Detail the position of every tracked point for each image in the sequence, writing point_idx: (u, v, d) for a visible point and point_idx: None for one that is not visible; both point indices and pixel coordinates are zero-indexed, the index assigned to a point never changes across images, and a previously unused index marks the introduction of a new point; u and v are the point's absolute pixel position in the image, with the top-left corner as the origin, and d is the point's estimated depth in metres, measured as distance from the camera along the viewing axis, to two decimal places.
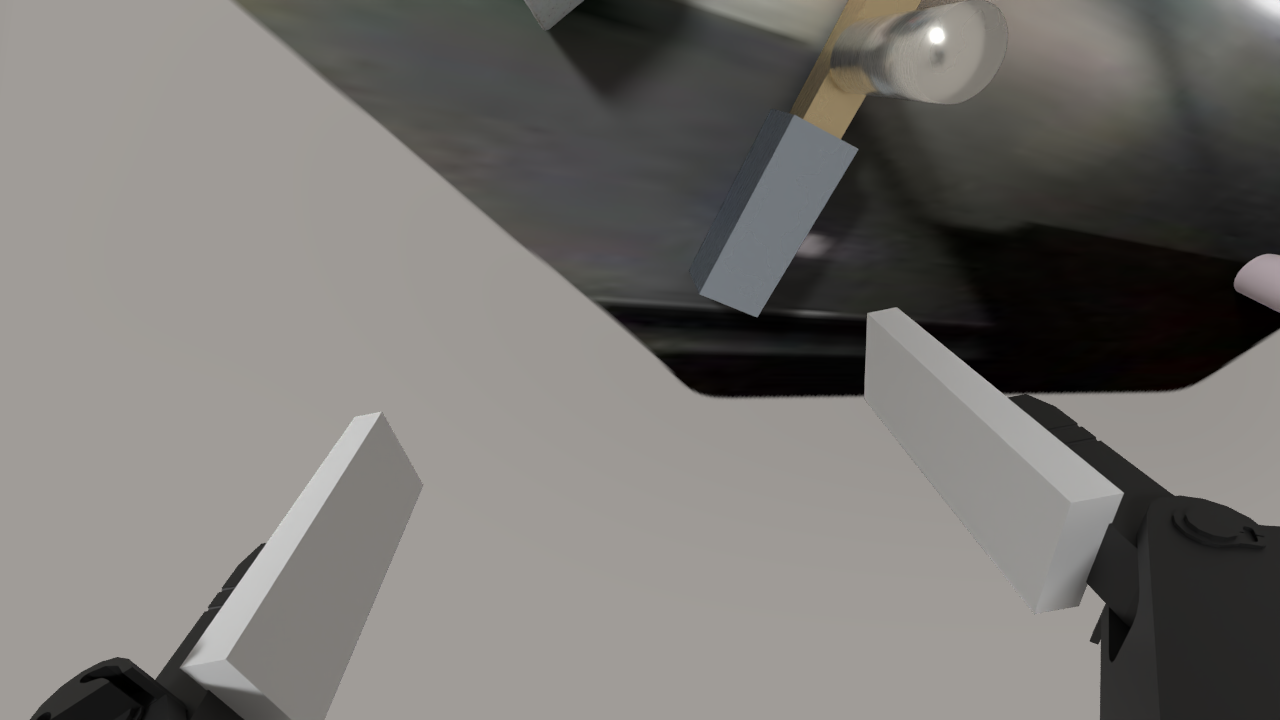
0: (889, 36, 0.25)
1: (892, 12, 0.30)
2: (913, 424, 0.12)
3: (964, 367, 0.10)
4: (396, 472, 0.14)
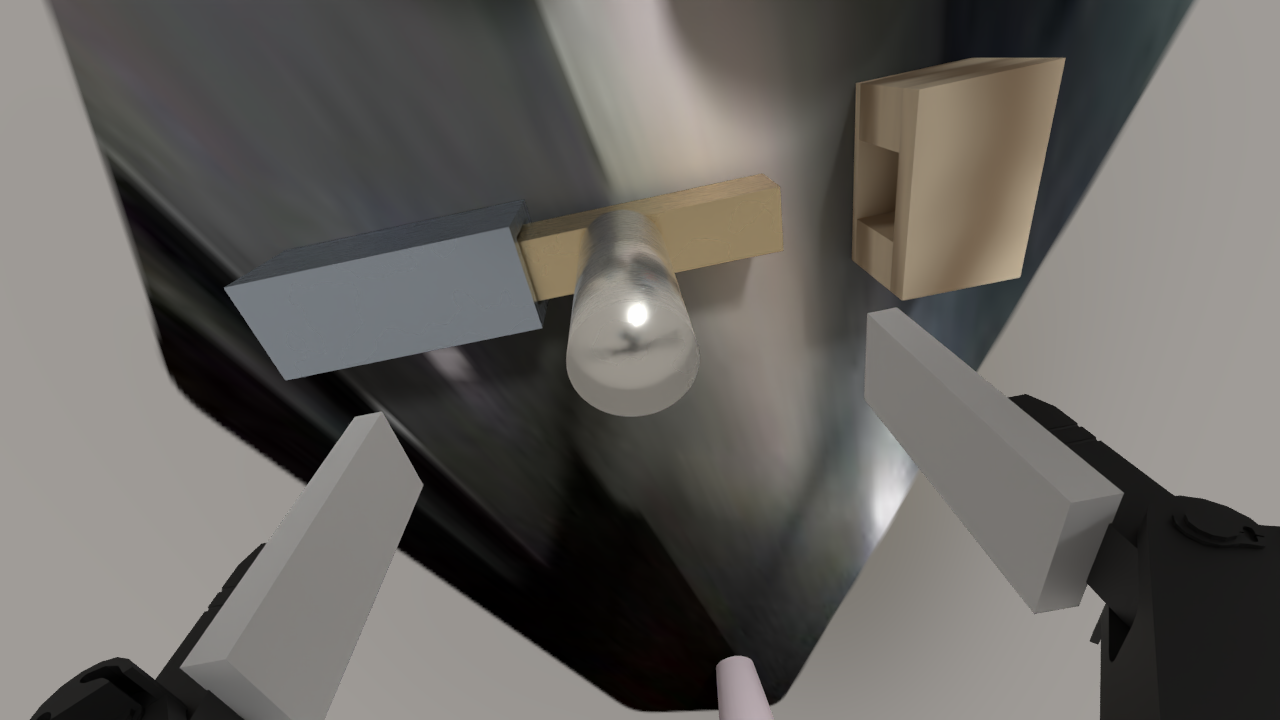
0: (616, 261, 0.17)
1: (678, 246, 0.24)
2: (913, 424, 0.12)
3: (964, 367, 0.10)
4: (396, 472, 0.14)
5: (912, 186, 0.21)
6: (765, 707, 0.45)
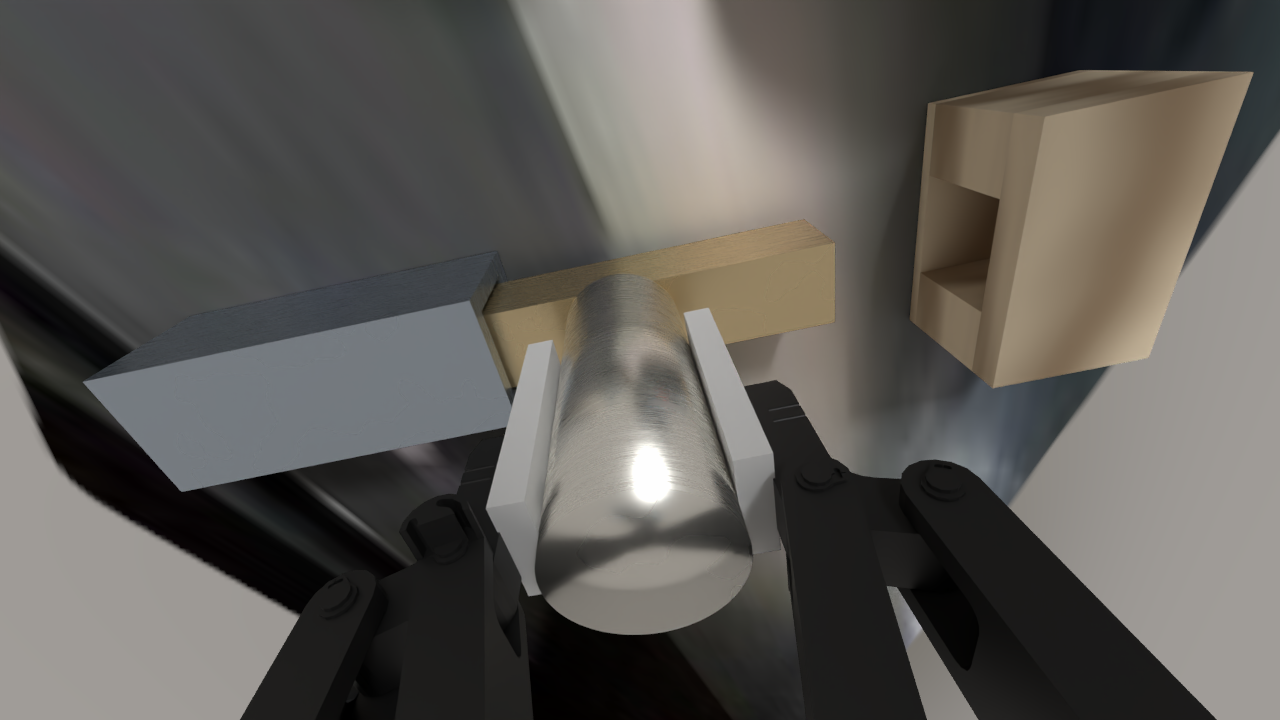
0: (616, 380, 0.11)
1: None
2: None
3: (726, 358, 0.12)
4: None
5: (1020, 245, 0.16)
6: None
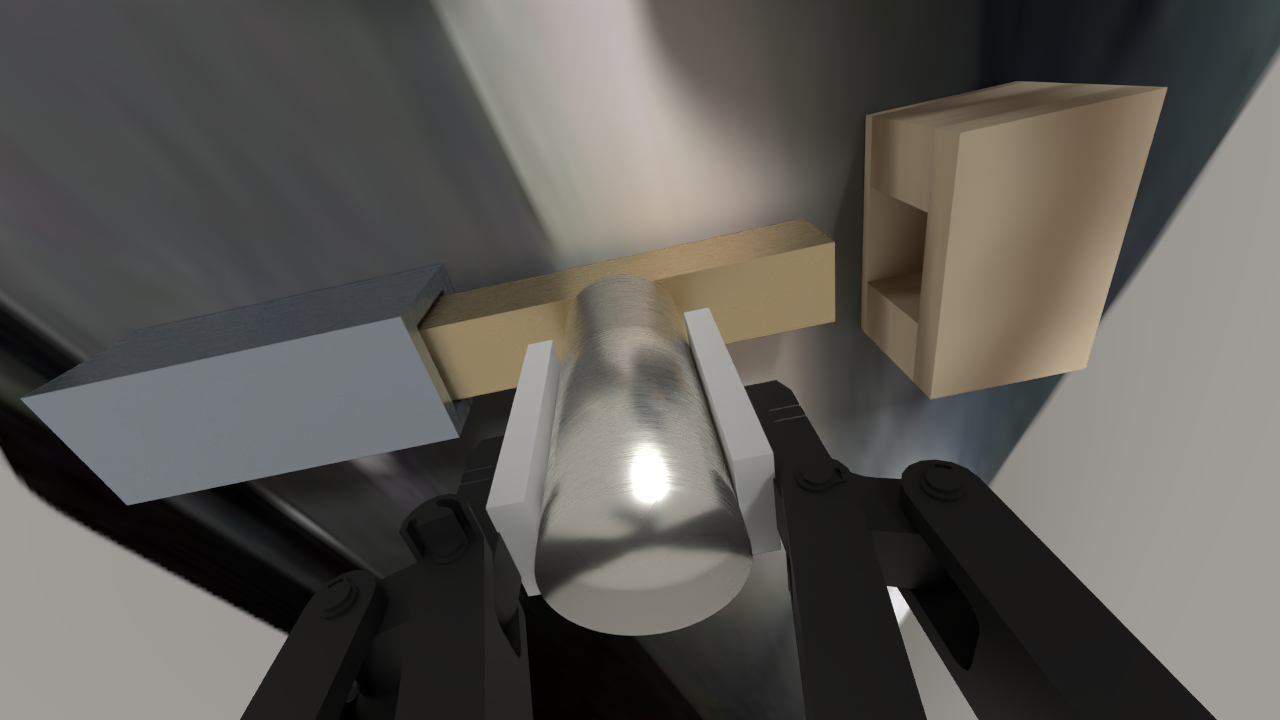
0: (615, 381, 0.11)
1: None
2: None
3: (726, 358, 0.12)
4: None
5: (947, 259, 0.16)
6: None
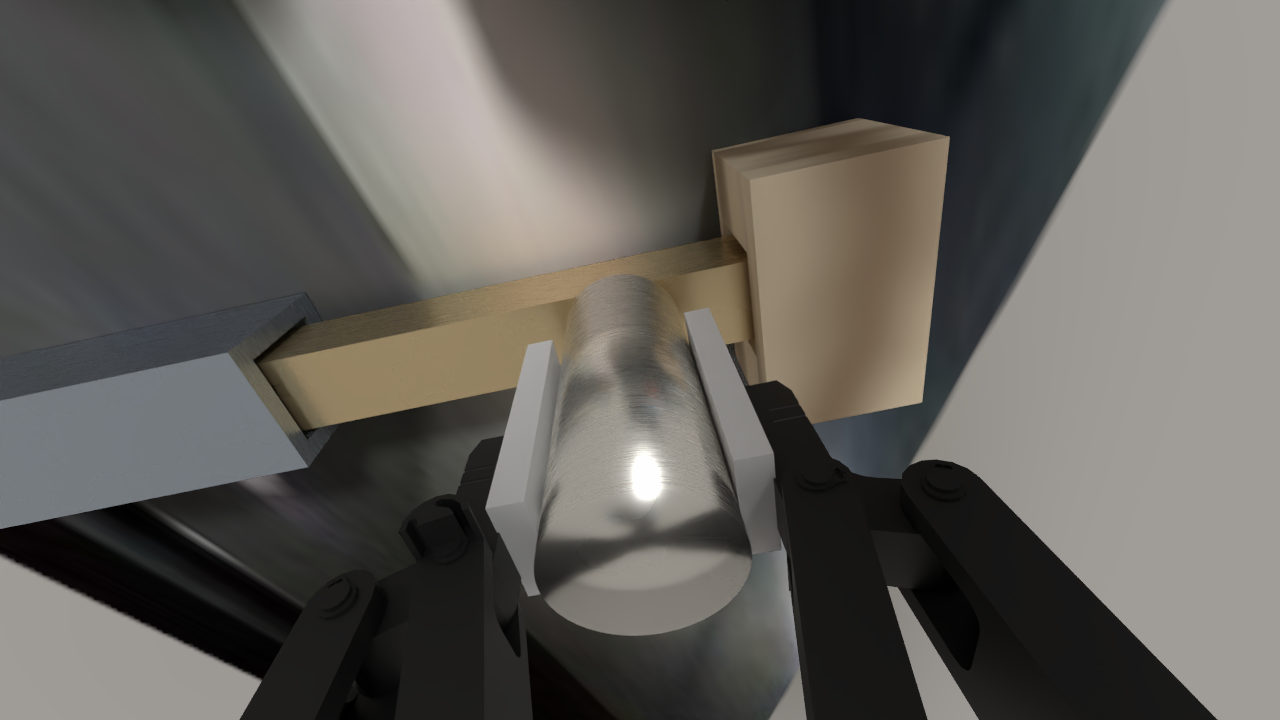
0: (615, 380, 0.11)
1: None
2: None
3: (727, 358, 0.12)
4: None
5: (761, 299, 0.16)
6: None
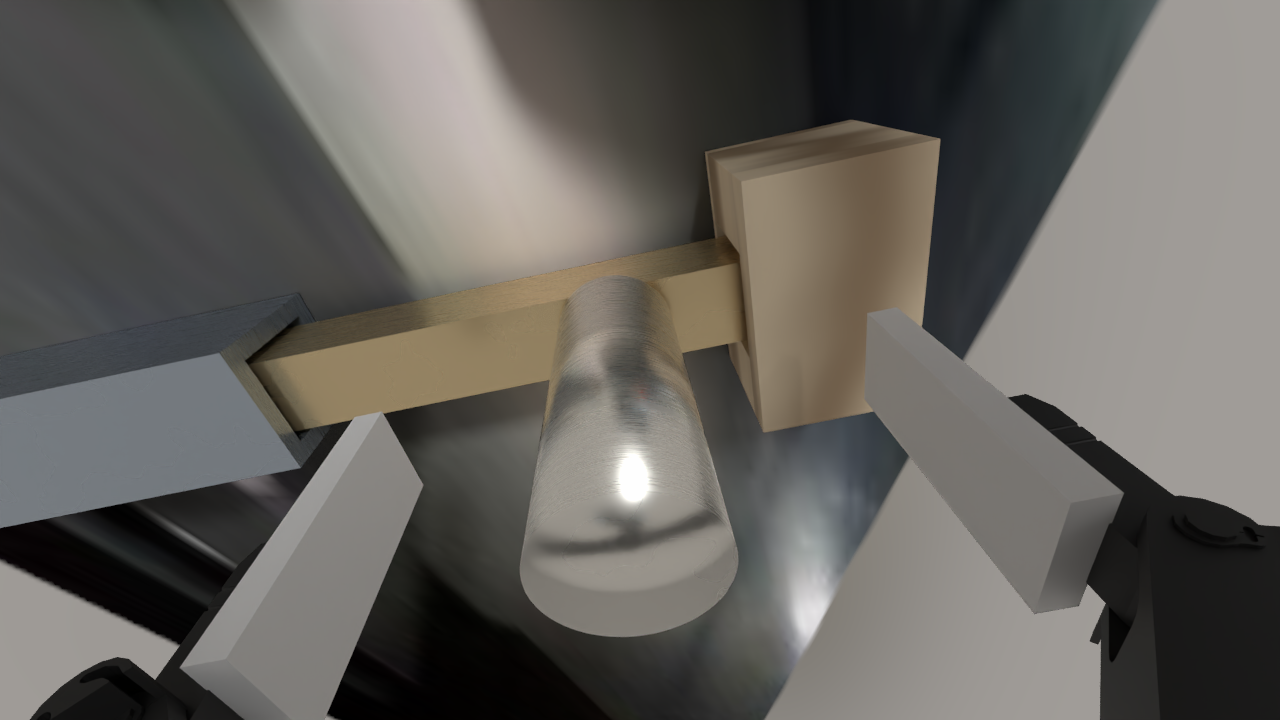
0: (604, 382, 0.11)
1: (690, 320, 0.18)
2: (913, 424, 0.12)
3: (964, 367, 0.10)
4: (396, 472, 0.14)
5: (754, 300, 0.16)
6: None
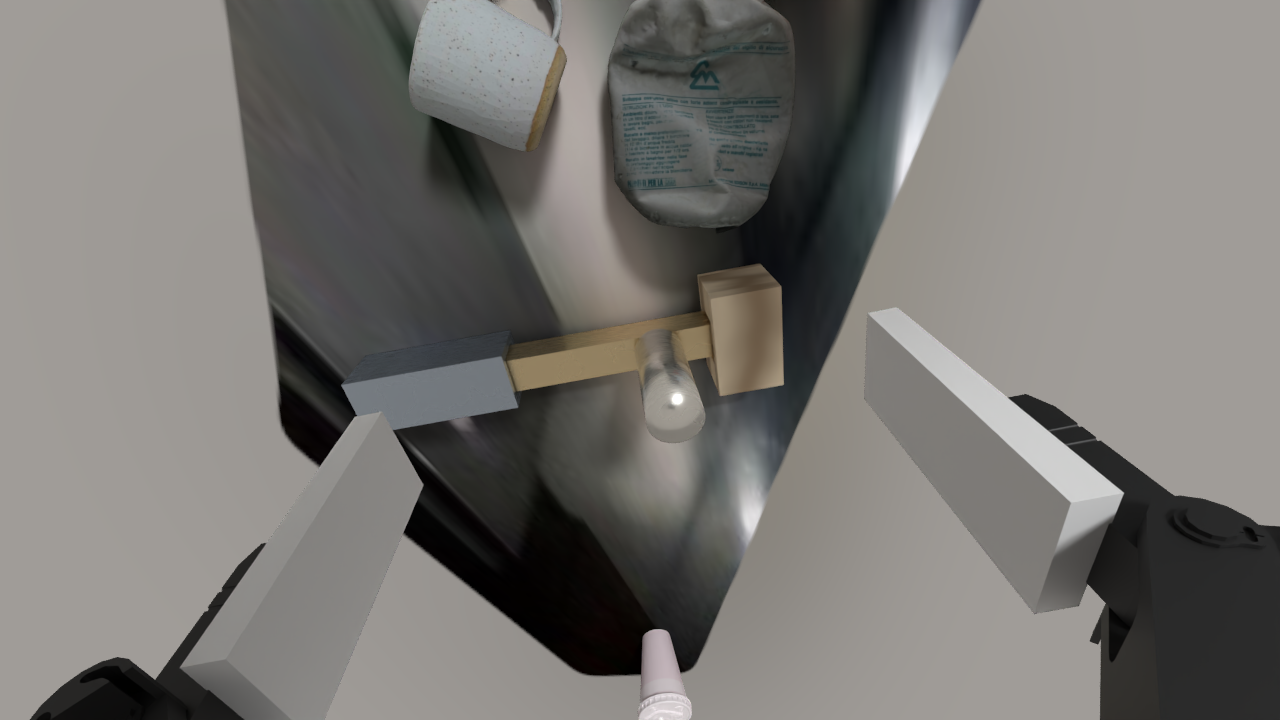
0: (665, 368, 0.36)
1: (689, 347, 0.43)
2: (913, 424, 0.12)
3: (964, 367, 0.10)
4: (396, 472, 0.14)
5: (715, 340, 0.41)
6: (673, 663, 0.63)
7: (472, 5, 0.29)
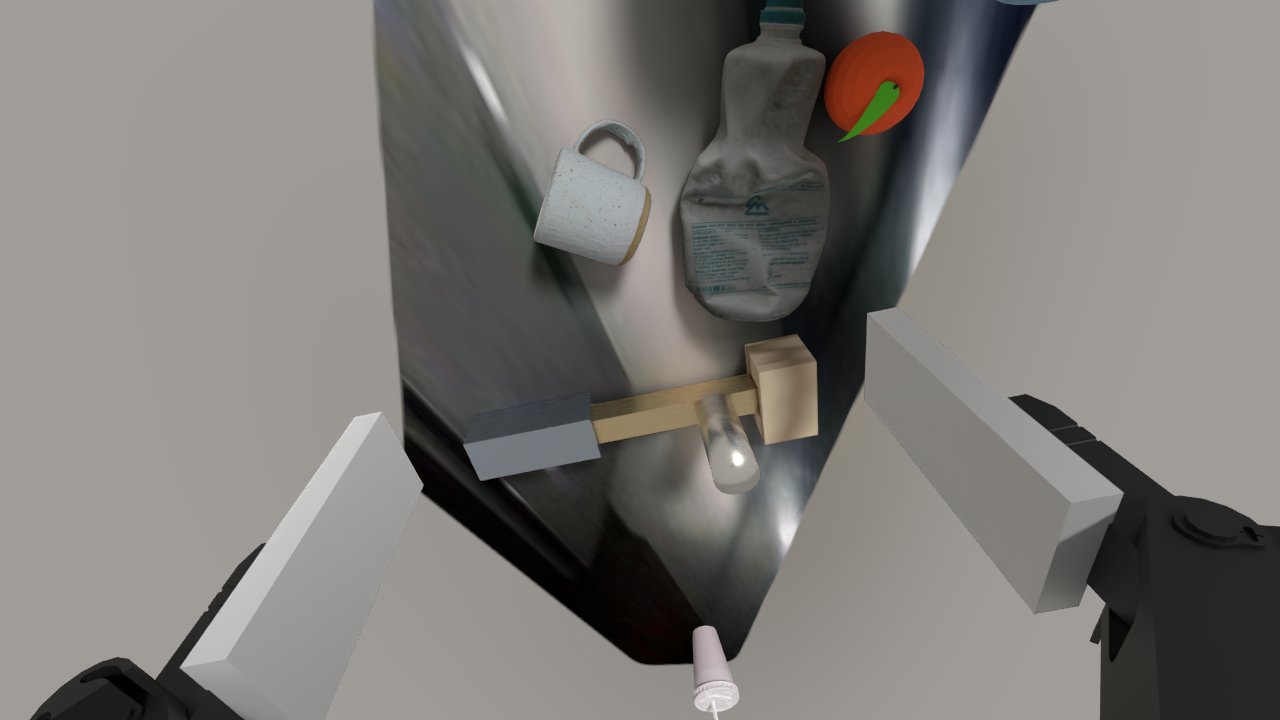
0: (726, 434, 0.46)
1: (740, 406, 0.52)
2: (913, 424, 0.12)
3: (964, 367, 0.10)
4: (396, 472, 0.14)
5: (762, 403, 0.50)
6: (721, 655, 0.74)
7: (584, 172, 0.38)
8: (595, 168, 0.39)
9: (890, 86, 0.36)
